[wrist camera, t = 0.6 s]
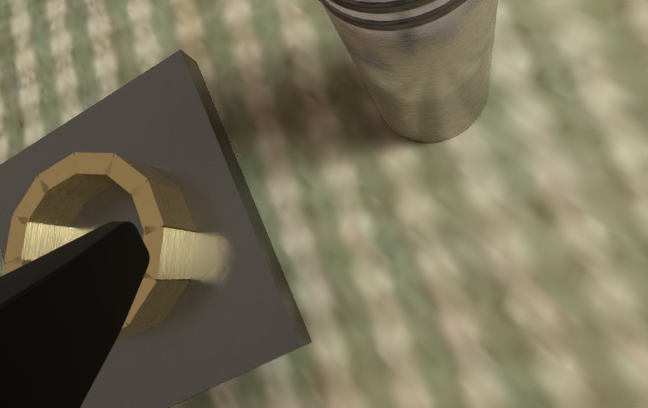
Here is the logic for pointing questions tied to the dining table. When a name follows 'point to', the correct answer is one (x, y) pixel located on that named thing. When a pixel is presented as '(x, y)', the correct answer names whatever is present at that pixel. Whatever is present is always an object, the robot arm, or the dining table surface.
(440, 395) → the dining table surface
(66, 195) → the tube holder stand
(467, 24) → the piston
